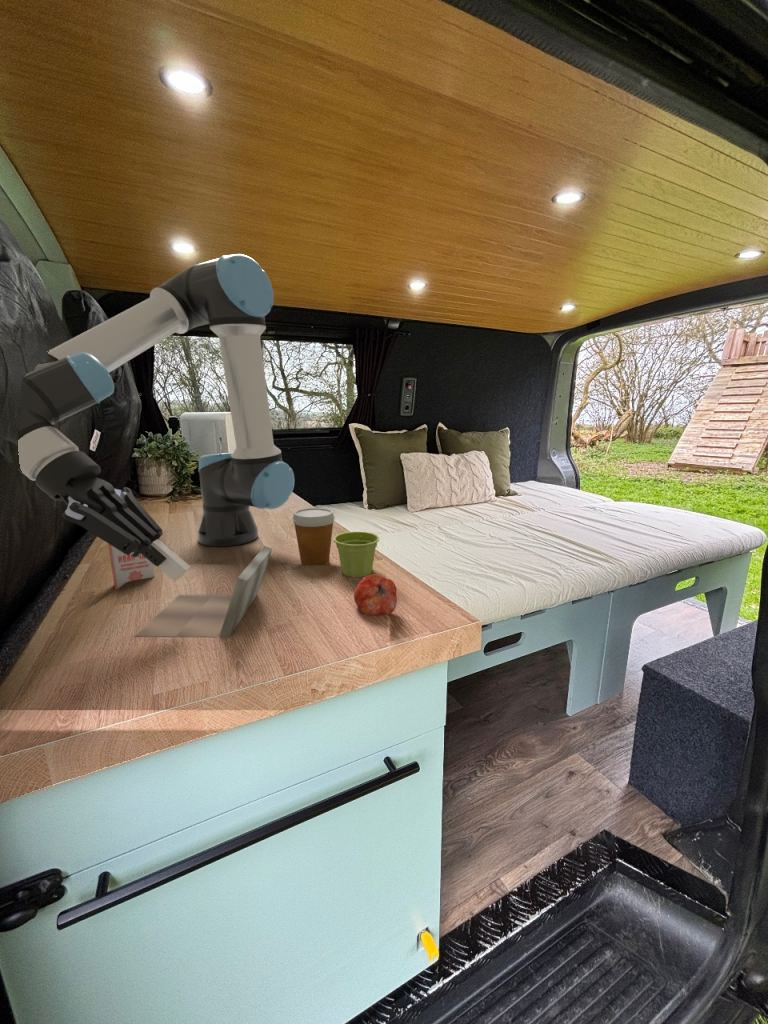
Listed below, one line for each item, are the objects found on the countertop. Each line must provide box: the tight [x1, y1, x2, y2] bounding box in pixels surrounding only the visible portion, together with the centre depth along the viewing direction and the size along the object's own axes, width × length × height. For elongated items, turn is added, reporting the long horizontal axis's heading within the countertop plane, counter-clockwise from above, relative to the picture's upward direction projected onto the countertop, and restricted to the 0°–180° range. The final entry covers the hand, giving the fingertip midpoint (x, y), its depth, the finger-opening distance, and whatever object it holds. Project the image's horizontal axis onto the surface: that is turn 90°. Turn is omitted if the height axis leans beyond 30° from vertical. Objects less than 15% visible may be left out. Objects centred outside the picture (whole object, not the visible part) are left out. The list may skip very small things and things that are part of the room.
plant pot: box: [333, 531, 380, 578], centre depth 85 cm, size 9×9×9 cm
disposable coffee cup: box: [291, 507, 336, 566], centre depth 92 cm, size 10×10×12 cm
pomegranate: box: [353, 573, 398, 616], centre depth 70 cm, size 7×7×10 cm
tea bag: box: [108, 544, 155, 591], centre depth 80 cm, size 4×7×10 cm, turn 122°
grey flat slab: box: [219, 545, 273, 638], centre depth 66 cm, size 14×10×1 cm
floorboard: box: [134, 594, 233, 638], centre depth 67 cm, size 14×12×1 cm
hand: (182, 574), depth 64 cm, fingers closed
